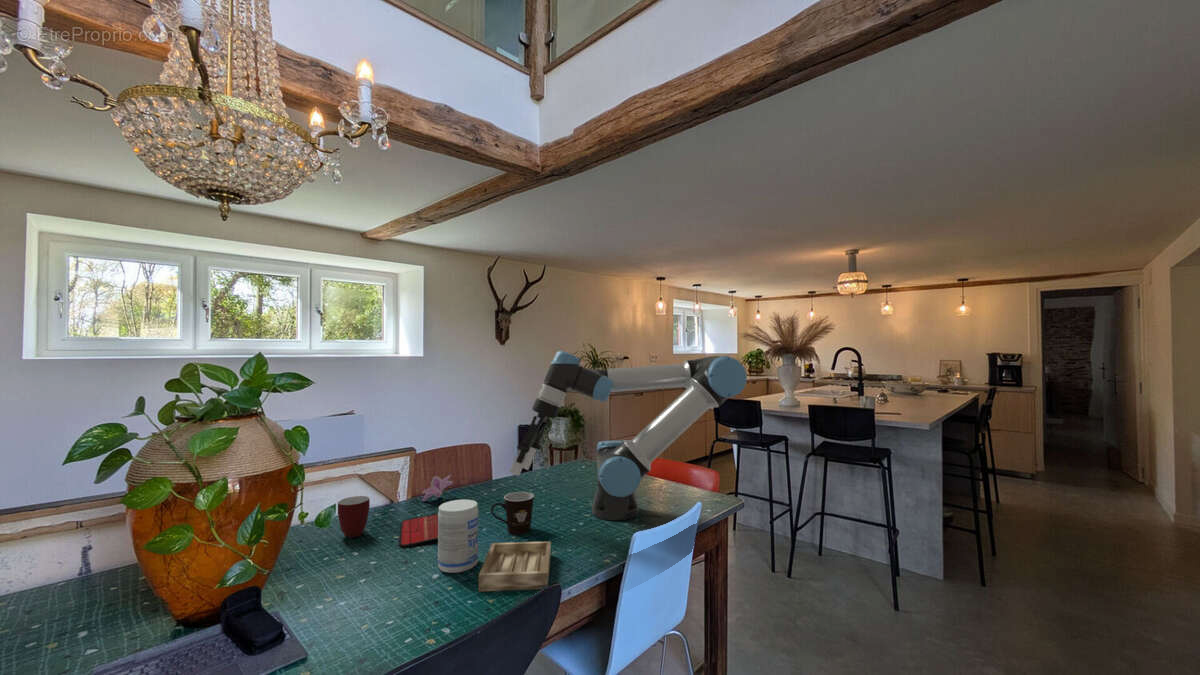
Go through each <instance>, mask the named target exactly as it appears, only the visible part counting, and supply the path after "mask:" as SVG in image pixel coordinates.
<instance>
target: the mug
mask: <svg viewBox="0 0 1200 675" xmlns="http://www.w3.org/2000/svg"><path fill="white" fill-rule="evenodd" d="M370 499H371V498H370V497H369V496H366V495H365V496H364V495H360V496H358V495H356V496H350V497H345V498H343V499H340V500H339V501H338V502H337V516H338V519H339V520H338V521H339V526H340V530H341V532H342V533H343V535H344V537H345V536H346V537H355V538H357V537H356V536H358V537H360V536H362V534H363V533H364V530H365V528H366V526H367V522H368V518H369V513H370V512H369V511H370V506H371V505H370V502H371V501H370ZM359 535H360V536H359ZM346 537H345V538H346Z"/></svg>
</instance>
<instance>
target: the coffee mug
mask: <svg viewBox="0 0 1200 675" xmlns="http://www.w3.org/2000/svg"><path fill="white" fill-rule="evenodd" d="M534 498H535V494H534V493H532V492H527V491H515V492H510V493H507V494H506V495H504V497H503V500H504V503H501V502H496V503H494V504H493V505H492V506H491V509H490V513H491V515H492V516H494V518H496V519H497V520H499V521H500V522H502V523H505V525H506V526H507V533H508V534H509V535H511V534H512V535H511V536H523V535H526V534H529V533H530V532H531V525H532V517H533V510H534V509H533V507H534V500H535V499H534ZM497 506H502V508H503V509H504V511H505V515H506V520H505V519H503V518H501V517H499V516H497V515H496V514H495V513H494V509H495V507H497Z"/></svg>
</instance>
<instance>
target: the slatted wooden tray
mask: <svg viewBox="0 0 1200 675" xmlns="http://www.w3.org/2000/svg"><path fill="white" fill-rule="evenodd" d="M551 558H552V540H551V541H550V540H549V541H547V540H546V541H520V542H519V541H517V542H492V543H491V544H490V547H489V550H488V552H487V554H486V556H485V559H484V561H483V564H482V566H481V569H480V571H479V574H478V592H479V593H480V592H503V591H506V592H508V591H530V590H531V591H532V590H543V589H542V588H544V587H546V586H548V587H549V578H550V577H549V576H550V569H551V568H550V567H551V560H552V559H551ZM550 559H551V560H550Z"/></svg>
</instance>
